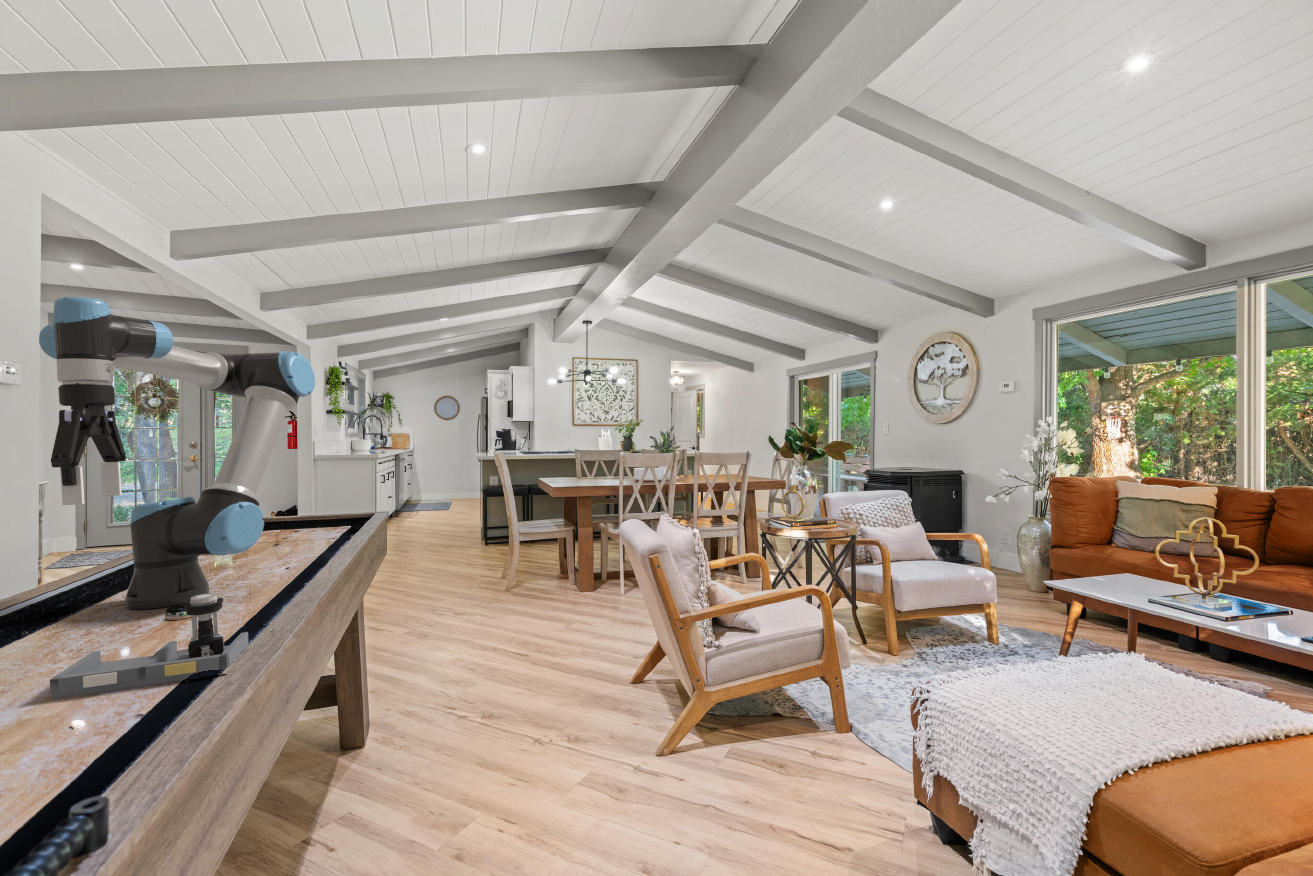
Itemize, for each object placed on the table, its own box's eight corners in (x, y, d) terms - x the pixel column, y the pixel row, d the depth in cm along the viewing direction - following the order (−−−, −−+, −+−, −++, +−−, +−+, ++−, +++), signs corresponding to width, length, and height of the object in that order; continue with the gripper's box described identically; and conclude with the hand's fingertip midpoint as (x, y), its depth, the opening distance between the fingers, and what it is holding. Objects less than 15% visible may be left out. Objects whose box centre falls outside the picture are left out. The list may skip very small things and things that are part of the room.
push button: (175, 665, 99) (171, 604, 99) (179, 655, 104) (175, 596, 104) (225, 656, 103) (222, 597, 103) (227, 646, 107) (223, 590, 107)
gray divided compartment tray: (93, 669, 102) (92, 651, 102) (248, 648, 109) (247, 631, 109) (49, 700, 90) (48, 680, 90) (226, 675, 97) (225, 656, 97)
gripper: (74, 379, 102) (83, 506, 103) (142, 387, 125) (148, 491, 126) (16, 379, 99) (25, 510, 100) (96, 388, 123) (103, 494, 124)
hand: (94, 500), depth 113 cm, fingers open, 13 cm apart
